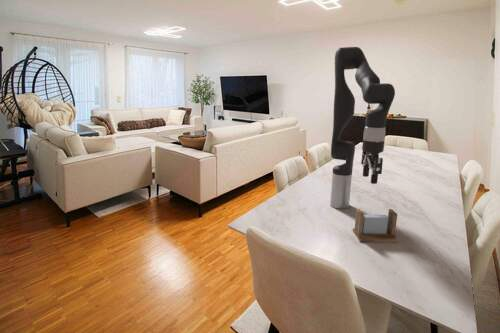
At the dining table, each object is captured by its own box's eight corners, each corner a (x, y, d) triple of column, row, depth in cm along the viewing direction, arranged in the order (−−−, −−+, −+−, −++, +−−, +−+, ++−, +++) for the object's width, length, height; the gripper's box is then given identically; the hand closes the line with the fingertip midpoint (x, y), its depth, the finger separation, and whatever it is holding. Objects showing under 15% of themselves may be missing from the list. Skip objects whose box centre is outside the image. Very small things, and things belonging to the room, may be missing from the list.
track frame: (352, 230, 123) (354, 206, 120) (386, 230, 122) (389, 206, 119) (359, 242, 113) (362, 216, 110) (396, 242, 113) (400, 217, 110)
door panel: (360, 232, 119) (362, 214, 117) (383, 233, 118) (385, 215, 116) (362, 235, 116) (364, 217, 114) (385, 236, 116) (388, 217, 114)
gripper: (357, 135, 116) (353, 174, 121) (370, 142, 103) (366, 186, 107) (376, 135, 116) (372, 174, 121) (392, 142, 102) (387, 186, 107)
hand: (369, 179), depth 114 cm, fingers open, 8 cm apart
